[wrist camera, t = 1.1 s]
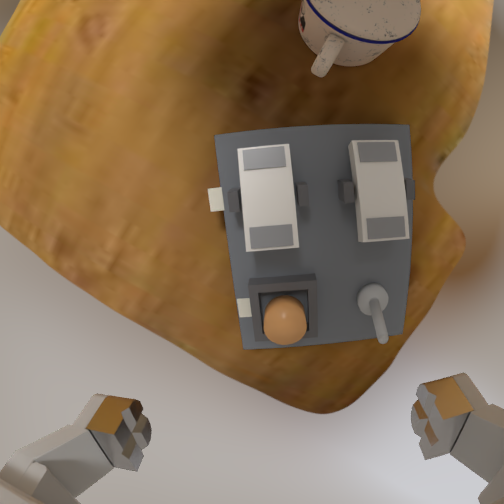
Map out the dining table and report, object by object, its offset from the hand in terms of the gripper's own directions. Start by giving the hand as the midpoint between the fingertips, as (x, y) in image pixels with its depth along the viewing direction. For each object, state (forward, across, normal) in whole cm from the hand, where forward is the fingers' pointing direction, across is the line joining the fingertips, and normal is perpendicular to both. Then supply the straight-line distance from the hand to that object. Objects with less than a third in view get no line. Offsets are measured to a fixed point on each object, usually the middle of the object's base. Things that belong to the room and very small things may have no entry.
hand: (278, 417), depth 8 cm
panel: (+23, -4, +1) cm, 24 cm away
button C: (+19, 0, +7) cm, 20 cm away
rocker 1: (+18, 0, -4) cm, 18 cm away
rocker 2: (+18, -9, -4) cm, 20 cm away
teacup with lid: (+23, -8, -18) cm, 30 cm away
